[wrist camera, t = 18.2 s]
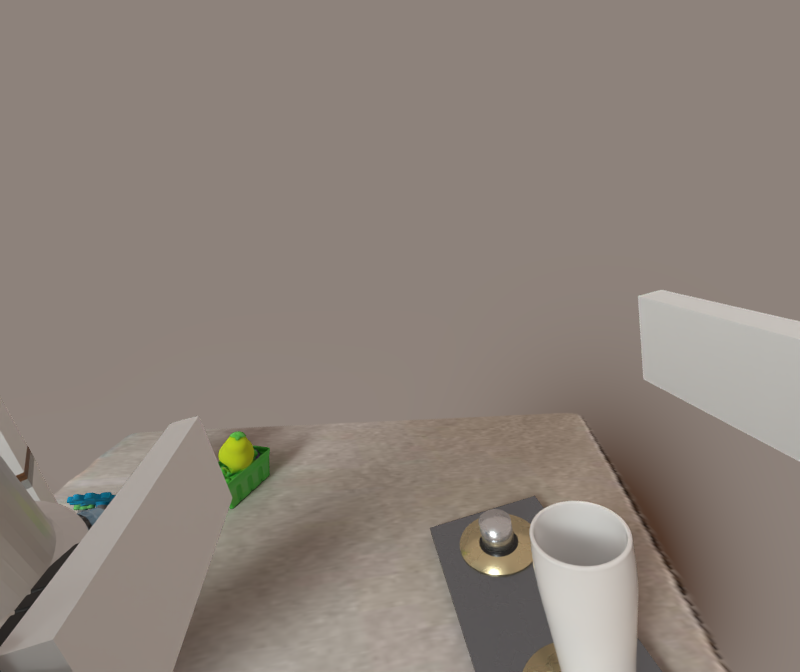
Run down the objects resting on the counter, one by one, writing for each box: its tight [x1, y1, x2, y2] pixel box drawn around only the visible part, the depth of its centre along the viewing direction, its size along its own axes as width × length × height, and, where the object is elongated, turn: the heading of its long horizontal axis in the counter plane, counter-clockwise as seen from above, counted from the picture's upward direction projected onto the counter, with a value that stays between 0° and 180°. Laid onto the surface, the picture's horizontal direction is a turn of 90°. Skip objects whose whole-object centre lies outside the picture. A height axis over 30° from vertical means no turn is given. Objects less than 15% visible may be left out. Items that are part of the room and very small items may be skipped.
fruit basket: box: [218, 431, 270, 509], centre depth 73 cm, size 11×9×11 cm
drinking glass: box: [529, 501, 638, 672], centre depth 32 cm, size 7×7×15 cm
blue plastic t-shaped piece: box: [67, 492, 116, 513], centre depth 74 cm, size 11×6×10 cm
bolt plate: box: [430, 496, 662, 672], centre depth 42 cm, size 28×14×4 cm, turn 10°
